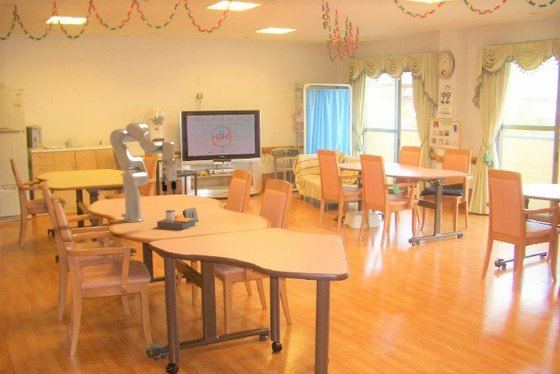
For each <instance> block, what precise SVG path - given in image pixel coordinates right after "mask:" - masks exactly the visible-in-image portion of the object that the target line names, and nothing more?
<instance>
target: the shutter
mask: <svg viewBox="0 0 560 374" xmlns="http://www.w3.org/2000/svg"><path fill="white" fill-rule="evenodd" d="M191 220H193V218H184V217H183V213H182V214H177V215H176V214H175V220H174V222H188V221H191Z"/></svg>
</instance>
